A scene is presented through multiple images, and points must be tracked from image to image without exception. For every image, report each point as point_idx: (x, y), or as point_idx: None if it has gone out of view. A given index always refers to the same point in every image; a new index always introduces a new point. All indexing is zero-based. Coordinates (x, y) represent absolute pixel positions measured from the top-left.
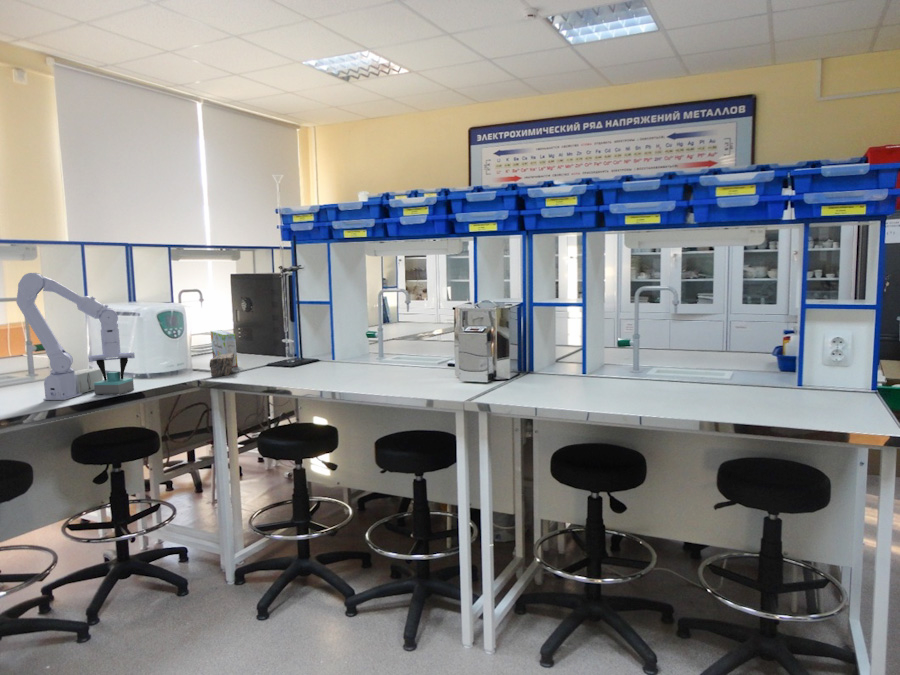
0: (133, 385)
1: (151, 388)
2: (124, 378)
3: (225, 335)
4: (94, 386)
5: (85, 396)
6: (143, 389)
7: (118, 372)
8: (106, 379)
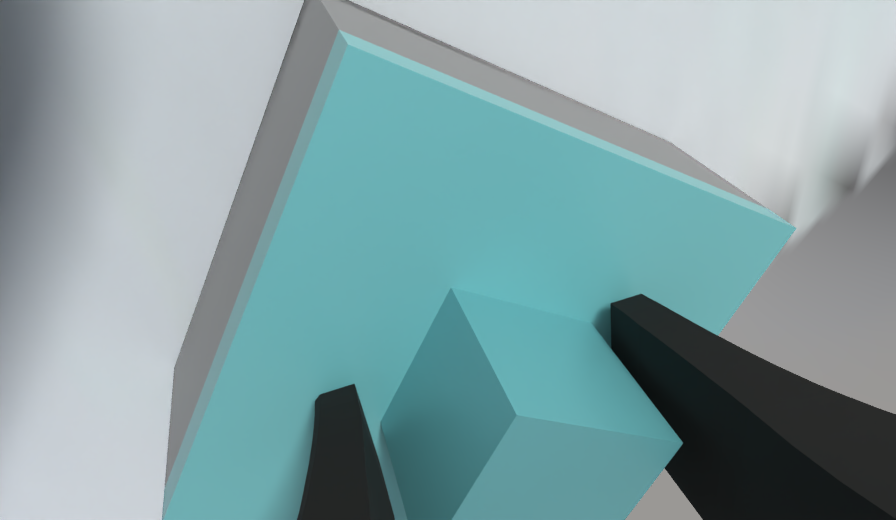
0: (708, 170)
1: (869, 119)
2: (666, 207)
3: None
4: (169, 468)
5: (65, 441)
6: (776, 159)
7: (649, 466)
8: (385, 486)
